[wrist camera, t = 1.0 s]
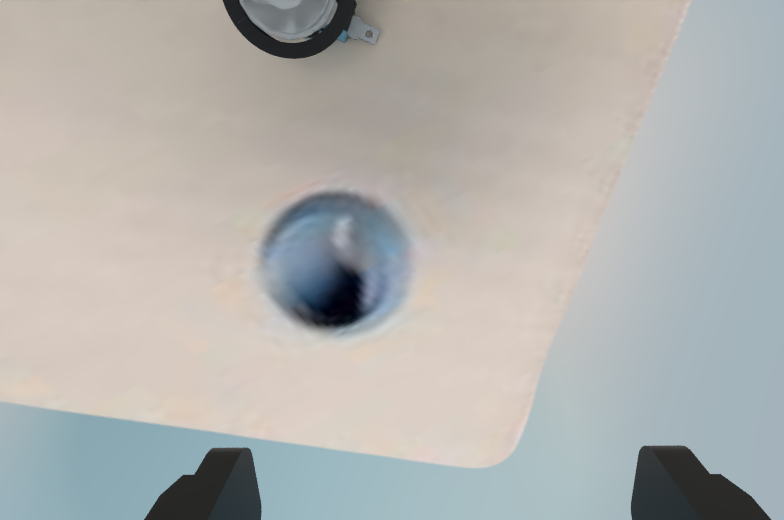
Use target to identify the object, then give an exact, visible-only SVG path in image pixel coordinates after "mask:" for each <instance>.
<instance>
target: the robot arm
mask: <svg viewBox="0 0 784 520" xmlns="http://www.w3.org/2000/svg"><path fill="white" fill-rule="evenodd" d="M631 515H632V520H771V519H770V518H769V516H768V515H767V514H766V513H765V512H764V511H763V510H762V509H761V507H760V506H759V505H758V504H757V503H756V501H755V500H754V499H753V498H752V497H751V496H750V495H748V494H747V493H746V492H744V491H743V490H742V489H740V488H739V487H738V486H736V485H735V484H733V483H732V482H731V481H729V480H728V479H726V478H725V477H724V476H722V475H721V474H709V472H708V471H707V470H706V469H705V467H704V466H703V465H702V464H701V463H700V461H699V460H698V459H697V458H696V457H695V455H694V454H693V453H692V452H691V450H690V449H688V448H687V447H685V446H643V447H642V448H641V449H640V451H639V455H638V462H637V469H636V475H635V481H634V489H633V494H632V501H631ZM144 520H261V500H260V495H259V489H258V484H257V478H256V473H255V467H254V462H253V457H252V453H251V450H250V449H249V448H212V449H211V450H210V451H209V452H208V453H207V454H206V456H205V458H204V459H203V461H202V463H201V464H200V466H199V468H198V470H197V471H196V473H195V475H183V476H181V477H180V478H179V479H178V480H177V481H176V482H175V483H174V484H172V485H171V486H170V487H169V488H168V489H167V490H166V491H165V492H163V494H161V495H160V496H159V498H158V500H157V501H156V502H155V504H154V505H153V507H152V509H151V510H150V512H149V514H148V515H147V516H146V518H145V519H144Z"/></svg>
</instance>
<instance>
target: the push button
mask: <svg viewBox="0 0 784 520" xmlns="http://www.w3.org/2000/svg"><path fill="white" fill-rule="evenodd" d="M223 2H224V5H225V8H226V10H227V12H228V14H229V16H230V18H231V20H232V22H233V23H234V25H235V26H236V27H237V29H238V30H239V31H240V32H241V34H242V35H243V36H244V37H245V38H246V39H247V40H248V41H250V42H251V43H252V44H253V45H255V46H256V47H258V48H259V49H261V50H263V51H265V52H267V53H269V54H272V55H274V56H278V57H283V58H292V59H297V58H305V57H309V56H313V55H315V54H318V53H320V52H322V51H323V50H325V49H326V48H328V47H329V46H330V45H332V44H333V43H334V42H335V41H336V40H339V41H342V42H344V43H345V41H346V38H347V36H348V37H350V38H353V39H355V40H357V38H359V39H362V40H364V41H366V42H368V43H371V44H373V45H374V44H375V43H376V40H377V37H378V34H379V30H378V29H376V28H374V27H372V26H369V25H367V24H365V23H363V21H362V20H363V19H361V18H359V17H357V16H355V15H354V14H355V12H354V11H355V8H356V5H357V4H356V1H355V0H223ZM264 31H265V32H266V33H265V32H264ZM367 31H371V32H372V34H373V35H372V37H370V38H368V37H367V36H366V32H367ZM319 32H321V33H320V34H319ZM268 34H269V35H271V36H274V37H279V38H283V39H287V40H293V39H298V38H302V37H303V38H306V39H308V40H307V41H304V42H299V43H285V42H280V41H278V40H276V39H274V38H272V37H271V36H269V35H268ZM311 38H312V39H311Z"/></svg>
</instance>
